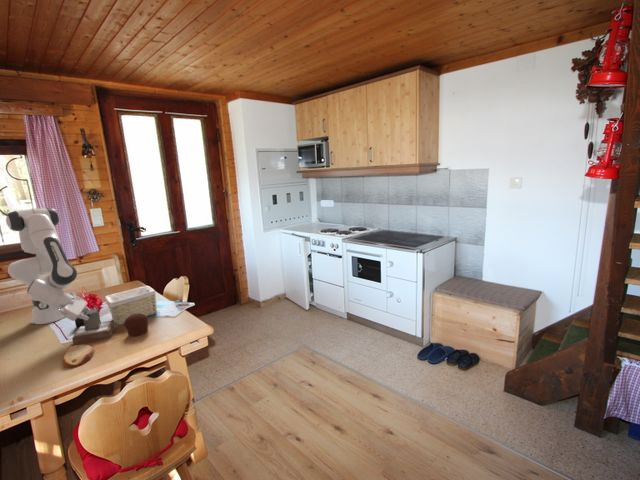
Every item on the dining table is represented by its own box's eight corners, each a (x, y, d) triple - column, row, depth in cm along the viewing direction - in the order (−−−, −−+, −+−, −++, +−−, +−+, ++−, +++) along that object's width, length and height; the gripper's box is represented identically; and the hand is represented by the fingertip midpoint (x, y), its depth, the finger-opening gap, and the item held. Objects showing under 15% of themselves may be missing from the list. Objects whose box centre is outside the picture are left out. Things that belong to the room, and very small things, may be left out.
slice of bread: (77, 347, 166) (75, 340, 166) (108, 348, 163) (107, 341, 162) (42, 368, 149) (40, 360, 148) (76, 369, 146) (75, 361, 145)
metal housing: (87, 327, 177) (84, 311, 175) (101, 324, 179) (97, 308, 177) (85, 331, 172) (82, 314, 170) (99, 328, 174) (95, 312, 173)
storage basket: (114, 327, 186) (109, 302, 183) (108, 319, 198) (104, 295, 195) (160, 313, 201) (155, 290, 198) (152, 306, 213) (148, 284, 210)
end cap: (76, 330, 185) (74, 319, 183) (77, 326, 190) (74, 315, 189) (98, 325, 190) (96, 314, 189) (98, 321, 196) (95, 310, 194)
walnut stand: (80, 334, 180) (79, 326, 179) (114, 327, 186) (113, 319, 185) (73, 345, 167) (71, 337, 166) (110, 337, 173) (108, 329, 172)
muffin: (122, 339, 171) (118, 321, 169) (130, 329, 182) (127, 312, 180) (146, 336, 173) (143, 318, 171) (153, 326, 183) (150, 309, 181)
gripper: (61, 304, 159) (89, 318, 165) (73, 291, 178) (98, 304, 184) (52, 314, 159) (80, 329, 164) (64, 300, 177) (90, 314, 183)
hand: (90, 316), depth 174 cm, fingers open, 6 cm apart
